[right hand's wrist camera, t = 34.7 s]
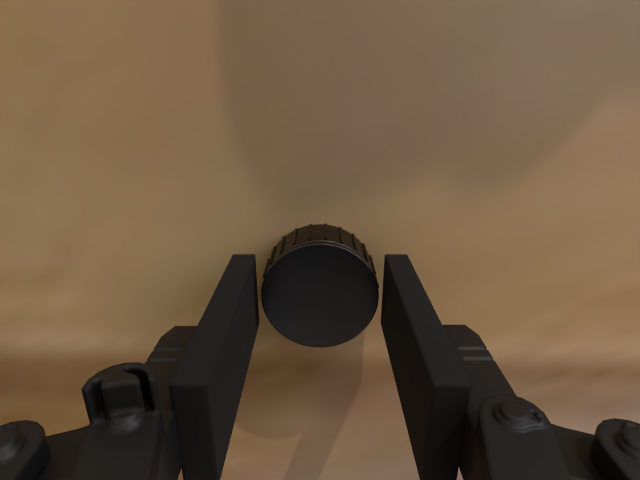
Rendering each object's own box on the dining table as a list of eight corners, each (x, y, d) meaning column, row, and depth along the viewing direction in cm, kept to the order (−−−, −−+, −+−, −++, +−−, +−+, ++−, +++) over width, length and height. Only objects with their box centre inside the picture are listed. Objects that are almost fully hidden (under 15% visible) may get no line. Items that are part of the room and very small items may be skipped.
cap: (352, 205, 15) (356, 223, 13) (387, 299, 16) (396, 327, 14) (249, 245, 15) (239, 267, 14) (292, 331, 17) (288, 363, 15)
